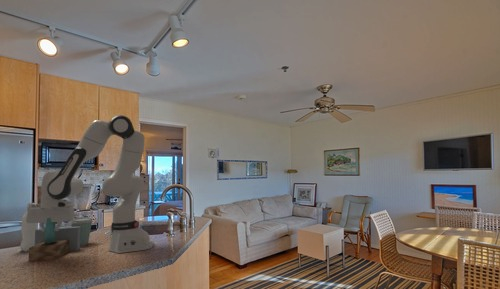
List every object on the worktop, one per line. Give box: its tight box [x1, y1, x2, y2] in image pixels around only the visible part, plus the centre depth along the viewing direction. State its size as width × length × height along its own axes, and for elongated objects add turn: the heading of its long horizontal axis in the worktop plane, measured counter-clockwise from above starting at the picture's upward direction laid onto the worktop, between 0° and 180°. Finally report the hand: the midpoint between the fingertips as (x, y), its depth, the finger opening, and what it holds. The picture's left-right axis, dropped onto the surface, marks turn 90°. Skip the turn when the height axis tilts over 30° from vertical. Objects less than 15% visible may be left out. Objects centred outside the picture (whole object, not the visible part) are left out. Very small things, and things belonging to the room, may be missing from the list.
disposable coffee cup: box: [70, 216, 93, 247], centre depth 153 cm, size 11×11×15 cm
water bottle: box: [19, 202, 39, 252], centre depth 145 cm, size 7×7×25 cm
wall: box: [35, 226, 81, 252], centre depth 141 cm, size 20×3×12 cm, turn 102°
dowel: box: [45, 218, 57, 243], centre depth 134 cm, size 4×4×12 cm
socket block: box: [27, 240, 70, 262], centre depth 133 cm, size 12×12×6 cm
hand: (50, 231), depth 134 cm, fingers closed on dowel, 4 cm apart
